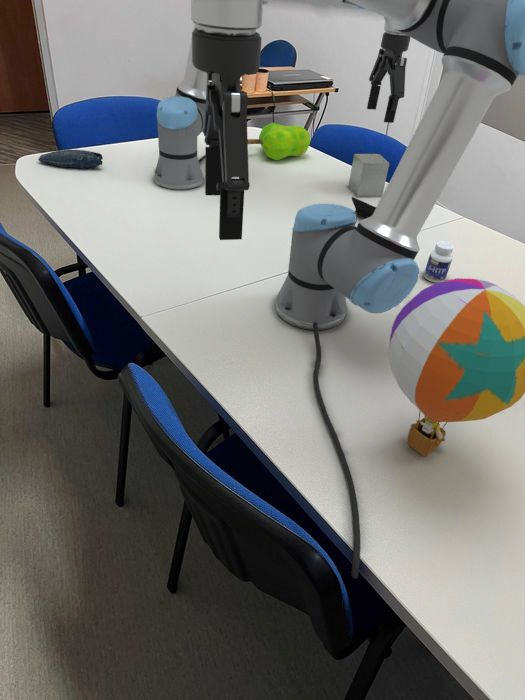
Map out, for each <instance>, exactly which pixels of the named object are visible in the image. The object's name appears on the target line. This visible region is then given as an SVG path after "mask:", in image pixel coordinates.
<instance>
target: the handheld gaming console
mask: <svg viewBox="0 0 525 700" xmlns="http://www.w3.org/2000/svg"><path fill="white" fill-rule="evenodd" d="M351 201H352V204H353V206H354V209H355V211H354V212H355V213H356V214H359V215H360V216H362V217H364V218H369V217H371V216H372V215H373V213H374V211H375V209H376V207H377V206H374V205H372V204H370V203H367V202H365V201H363V200H360V199H358V198H356V197H354V196H352V197H351Z"/></svg>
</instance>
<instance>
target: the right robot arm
mask: <svg viewBox="0 0 525 700" xmlns="http://www.w3.org/2000/svg"><path fill="white" fill-rule="evenodd" d="M347 1H349V2H352V3H354V4H356V5H359V6H361V7H363V8H366V9H365V10H368V11H370V12H373V13H375V14H378V15H379V16H382V17H383V18H384V21H386V23H387V24H388V25H389V26H390V27H391V28H393V29H395V30H398V31H400V32H402V33H404V34H406V35H408V36H410V37H411V38H412V39H413V40H415V41H417V42H418V43H421V44H422V45H424V46H426V47H428V48H430V49H432V50H434V51H436V52H438V53H441V54H443V55H442V58H441V66H442V68H443V76H442V79H441V80H440V83H439V84H438V86H437V88H436V90H435V92H434V94H433V96H432V98H431V100H430V102H429V104H428V106H427V108H426V110H425V111H424V114H423V116H422V118H421V120H420V121H419V123H418V125H417V127H416V129H415V131H414V133H413V135H412V137H411V139H410V141H409V143H408V145H407V147H406V148H405V151H404V153H403V154H402V157H401V158H400V161H399V163H398V164H397V167H396V169H395V170H394V172H393V175H392V176H391V178H390V180H389V181H388V184H387V186H386V188H385V189H384V191H383V194H382V196H381V197H380V199H379V201H378V204H377V205H376V206H375V207H376V209H375V211H374V213H373V215H372V216H371V217H369V218H368V217H365V218H363V219H361V220H359V222H358V224H357V213H356V212H355V211H354V210H353V209H352V208H350V207H348V206H345V205H341V204H335V203H316V204H311V205H307V206H304V207H301V208H300V209H299V210H298V211H297V213H296V214H295V217H294V222H293V226H292V234H291V242H290V252H289V262H288V263H289V264H288V270H287V271H288V272H287V275H286V278H285V279H284V282H283V283H282V285H281V287H280V290H279V291H278V294H277V296H276V300H275V311H276V313H277V315H278V316H279V317H280V318H281V319H282V320H283V321H284V322H286V323H287V324H289V325H291V326H293V327H296V328H300V329H304V330H310V331H313V336H314V343H315V351H316V352H315V353H316V357H315V363H314V367H313V374H312V380H313V381H312V382H313V388H314V393H315V396H316V400H317V403H318V406H319V408H320V411H321V415H322V417H323V421H324V422H325V426H326V427H327V429H328V432H329V435H330V437H331V439H332V442H333V445H334V447H335V450H336V452H337V456H338V459H339V460H340V463H341V466H342V469H343V470H342V471H343V472H344V475H345V480H346V484H347V489H348V494H349V500H350V506H351V516H352V535H353V536H352V537H353V540H352V541H353V543H352V561H351V577H352V579H355V580H357V579H358V578H359V573H360V563H361V562H360V561H361V527H360V514H359V513H360V512H359V505H358V498H357V493H356V489H355V484H354V480H353V477H352V473H351V470H350V467H349V464H348V460H347V458H346V455H345V454H344V449H343V447H342V445H341V443H340V440H339V437H338V435H337V433H336V431H335V428H334V426H333V424H332V421H331V419H330V417H329V413H328V411H327V408H326V405H325V402H324V399H323V396H322V393H321V389H320V383H319V372H320V367H321V361H322V347H321V341H320V334H319V331H324V330H325V331H326V330H329V329H333V328H336V327H337V326H339V325H340V324H342V323H343V322H344V320H345V318H346V315H347V310H348V305H347V299H348V300H349V301H350V303H352V305H355V306H358V307H359V308H361V309H362V310H363V311H365V312H368V313H370V314H383V313H386V312H388V311H390V310H392V309H393V308H396V307H397V306H398V305H400V304H401V303H402V302H404V300H405V299H406V298H407V297H408V296H409V295H410V294H411V293H412V292H413V290H414V288H415V286H416V285H417V283H418V281H419V274H420V268H419V265H418V264H417V262H416V261H415V259H416V257H417V255H418V253H419V251H420V246H419V243H418V239H417V238H418V236H419V234H420V232H421V230H422V229H423V227H424V224H425V223H426V221H427V219H428V218H429V216H430V214H431V212H432V210H433V209H434V206H435V205H436V203H437V201H438V199H439V198H440V196H441V194H442V192H443V191H444V189H445V187H446V185H447V184H448V182H449V180H450V179H451V176H452V174H453V172H454V171H455V170H456V167H457V165H458V163H459V162H460V160H461V158H462V157H463V155H464V153H465V151H466V150H467V148H468V146H469V144H470V142H471V140H472V139H473V137H474V134H475V133H476V132H477V129H478V127H479V126H480V124H481V122H482V121H483V120H484V119H483V118H484V117H485V115H486V113H487V111H488V110H489V108H490V107H491V105H492V103H493V101H494V99H495V98H496V97H497V96H500V95H502V94H505V93H507V92H509V91H510V90H511V89H512V88H513V86H514V83H515V82H516V80H517V78H518V76H525V0H347ZM268 3H269V0H190V15H191V16H190V20H191V22H193V23H194V24H197V28H195V29H194V28H193V29H194V31H193V30H192V32H191V39H192V63H193V65H194V67H195V68H196V69H198V70H200V71H203V72H206V73H207V86H206V105H205V119H204V129H203V131H202V133H203V136H204V143H205V145H206V146H205V147H204V148H205V153H204V155H205V158H204V160H205V163H204V164H205V165H204V167H205V168H204V171H205V172H204V192H205V193H204V194H205V196H219V219H218V220H219V221H218V225H219V226H218V239H219V241H233V240H236V241H237V240H242V239H243V226H244V225H243V224H244V223H243V222H244V206H245V205H244V204H245V191H249V190H250V185H251V184H250V177H249V176H250V175H249V144H248V139H249V138H248V101H249V95H248V92H247V91H244V90H242V87H241V78H242V77H243V76H245V75H247V76H251V75H253V74H256V73H257V72H258V71H260V67H261V54H262V53H261V51H262V39H263V38H262V36H261V34H260V33H259V32H257V30H258V29H260V28H261V27H262V25H263V15H264V13H263V12H264V10H263V9H264V8H263V5H268ZM356 5H355V6H356ZM363 8H362V9H363ZM411 38H410V39H411ZM356 224H357V226H356Z"/></svg>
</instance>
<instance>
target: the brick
mask: <svg viewBox="0 0 525 700" xmlns="http://www.w3.org/2000/svg"><path fill="white" fill-rule="evenodd" d="M389 167H390V162H389V161H388V160H387V159H386V158H384V157H383V156H382V155H381V154H380V153H354V154H353V157H352V163H351V169H350V175H349V180H348V186H347V187H348V188H349V189H350V191H352V193H353V194H354V195H355V196H356V197H357V198H361V197H362V198H364V197H365V198H366V197H367V198H368V197H382V196H383V194H384V191H385V185H386V181H387V177H388V172H389Z"/></svg>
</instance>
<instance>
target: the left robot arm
mask: <svg viewBox="0 0 525 700" xmlns="http://www.w3.org/2000/svg"><path fill="white" fill-rule="evenodd" d="M334 1H335V2H339V3H344V4H346V5H351V6H356V7H357V8H359V9H363V10H364V9H365V10H367V9H366V8H363V7H361V6H359V5H356V4H354V3H352V2H349V1H347V0H333V2H334ZM384 21H385V20H384ZM195 28H197V24H195V23H194V24H193V30H192V32H193V31H194V29H195ZM383 30H384V31H385V32H383V33H382V38H381V43H380V48H379V51H378V55H377V57H376V60H375V63H374V65H373V66H372V70H371V72H370V75H369V77H368V81H369V82H370V91H369V95H368V101H367V106H366V109H367V110H377V107H378V101H379V97H380V92H381V86H382V81H383V80H384V78H385V76H386V75H388V76H389V88H390V95H389V96H388V100H387V106H386V110H385V114H384V119H383V122H384V123H386V124H387V123H388V124H389V123H390V124H391V123H392V124H393V123H394V121H395V117H396V113H397V109H398V104H399V101H400V99H403V98H405V92H406V91H405V90H406V89H405V88H406V66H407V60H408V58H407V57H403V56H402V55H403V53H405V52H407V51H408V50H409V46H410V43H411V37H410V36H408V35H406V34H404V33H402V32H400V31H398V30H395V29H393V28H391V27H390V26H389V25H388V24H387V23H386V21H385V22H384V27H383ZM206 86H207V73H206V72H203V71H200V70H198V69H196V68H195V67H194V65H193V63H192V38H191V39H190V46H189V50H188V55H187V61H186V66H185V71H184V76H183V80H181V81H180V82H178V83H177V85H176V91H175V96H170V97H166V98H163V99H161V100H160V101H159V102H158V104H157V107H156V108H157V109H156V120H157V136H158V159H157V163H156V166H153V175H154V177H153V178H154V182H155V184H156V185H158V186H160V187H162V188H165V189H169V190H175V191H176V190H179V191H181V190H182V191H184V190H192V189H196V188H198V187H200V186H202V185H203V183H204V173H203V169H202V167H201V164H200V163H201V162H202V161H203V160H205V154H204V155H203V156H202V157H200V158H199V157H198V137H199V136H200V134H202V133H203V129H204V119H205V105H206Z"/></svg>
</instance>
